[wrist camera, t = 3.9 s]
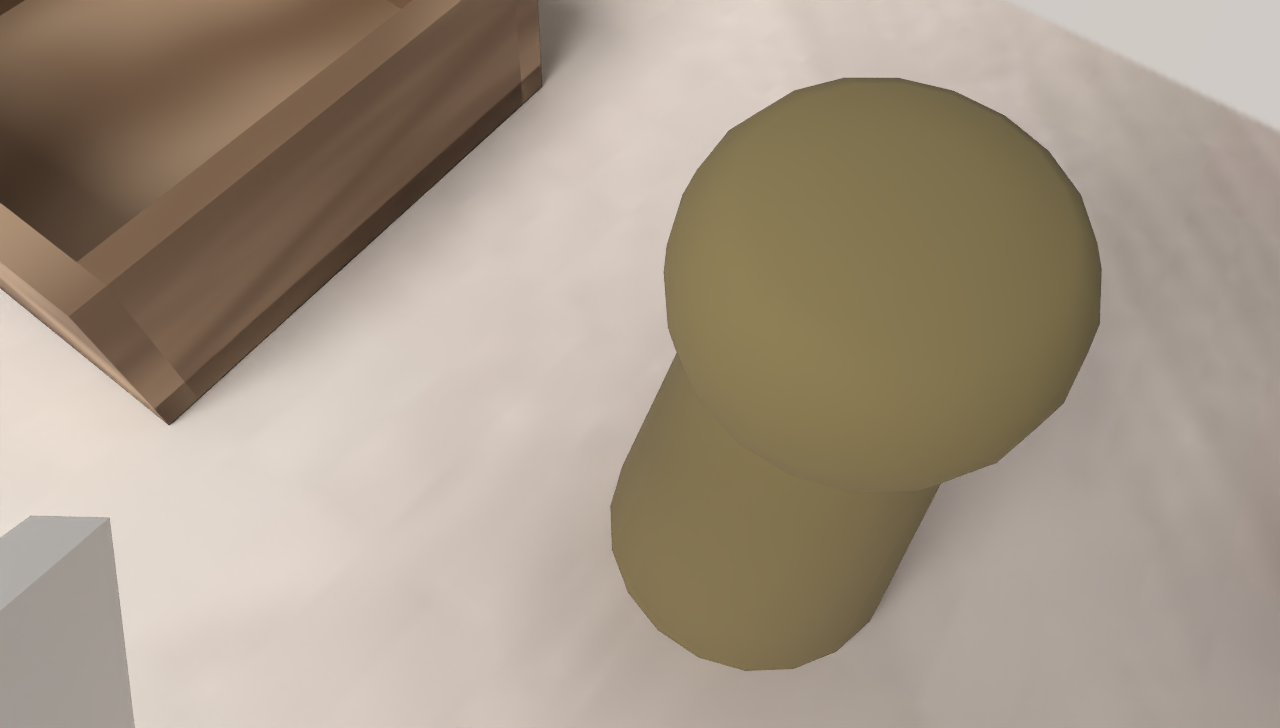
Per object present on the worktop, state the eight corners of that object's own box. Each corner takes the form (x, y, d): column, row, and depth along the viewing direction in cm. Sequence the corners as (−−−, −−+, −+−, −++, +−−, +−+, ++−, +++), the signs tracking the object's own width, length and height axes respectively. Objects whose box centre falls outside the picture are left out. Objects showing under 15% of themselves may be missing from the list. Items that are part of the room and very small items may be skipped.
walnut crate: (542, 86, 25) (534, -60, 21) (168, 425, 20) (68, 316, 16) (214, -112, 28) (155, -271, 24) (-183, 139, 23) (-341, -12, 19)
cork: (707, 731, 18) (857, 566, 8) (558, 470, 20) (538, 101, 11) (954, 578, 20) (1320, 291, 10) (790, 353, 22) (956, -57, 12)
